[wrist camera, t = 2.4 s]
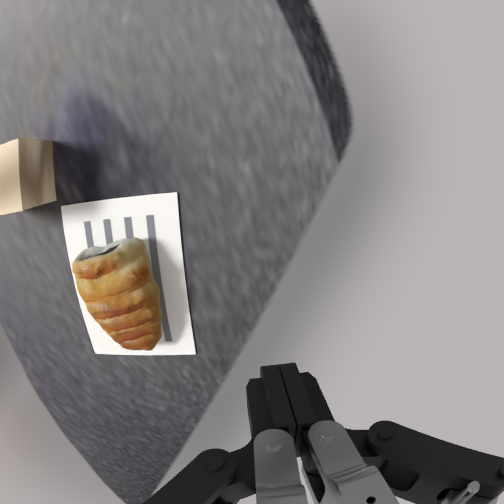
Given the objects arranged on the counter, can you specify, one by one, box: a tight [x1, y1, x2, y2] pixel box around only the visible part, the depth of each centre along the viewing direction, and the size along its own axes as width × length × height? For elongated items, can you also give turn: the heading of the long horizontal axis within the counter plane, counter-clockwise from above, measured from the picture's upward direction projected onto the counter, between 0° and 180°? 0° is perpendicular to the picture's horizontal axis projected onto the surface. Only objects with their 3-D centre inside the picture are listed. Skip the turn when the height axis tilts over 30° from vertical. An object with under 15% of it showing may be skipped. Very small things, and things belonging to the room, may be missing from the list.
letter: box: [61, 192, 196, 355], centre depth 22 cm, size 14×10×1 cm
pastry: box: [72, 237, 162, 351], centre depth 20 cm, size 9×7×4 cm
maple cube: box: [0, 138, 57, 215], centre depth 16 cm, size 5×5×5 cm
